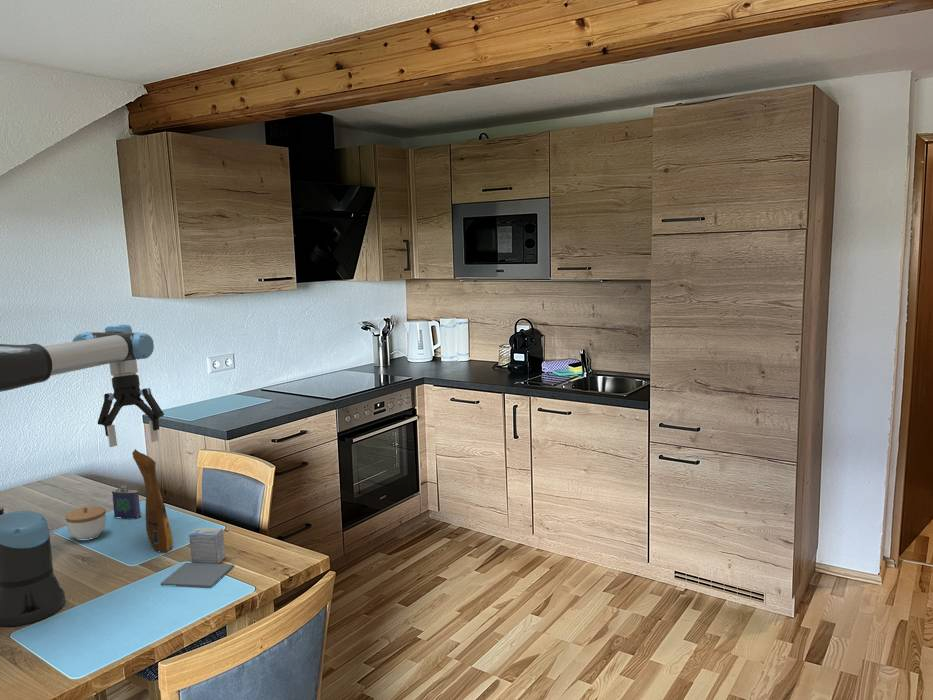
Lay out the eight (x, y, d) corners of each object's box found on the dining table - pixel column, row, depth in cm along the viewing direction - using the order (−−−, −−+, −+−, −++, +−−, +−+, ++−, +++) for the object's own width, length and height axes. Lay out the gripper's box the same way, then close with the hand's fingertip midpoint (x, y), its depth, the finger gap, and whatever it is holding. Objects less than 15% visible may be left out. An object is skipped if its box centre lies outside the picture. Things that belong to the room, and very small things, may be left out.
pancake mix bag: (151, 558, 195) (142, 462, 191) (139, 536, 211) (130, 447, 206) (177, 552, 199) (168, 457, 195) (163, 531, 214) (155, 443, 210)
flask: (142, 516, 227) (139, 484, 226) (136, 519, 224) (133, 487, 223) (117, 514, 229) (114, 483, 227) (111, 518, 226) (108, 486, 224)
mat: (211, 587, 176) (211, 585, 176) (160, 585, 179) (160, 583, 179) (233, 566, 188) (233, 564, 188) (186, 564, 190) (185, 562, 190)
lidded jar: (115, 531, 215) (112, 502, 214) (88, 545, 205) (85, 515, 203) (87, 528, 218) (84, 500, 216) (59, 542, 208) (56, 512, 206)
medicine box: (225, 557, 194) (223, 527, 193) (218, 564, 190) (216, 534, 189) (198, 556, 195) (196, 527, 194) (191, 564, 191) (188, 534, 189)
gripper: (169, 369, 215) (178, 437, 215) (94, 379, 218) (103, 446, 218) (156, 370, 208) (166, 440, 208) (79, 381, 210) (88, 450, 210)
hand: (134, 443), depth 213 cm, fingers open, 13 cm apart
